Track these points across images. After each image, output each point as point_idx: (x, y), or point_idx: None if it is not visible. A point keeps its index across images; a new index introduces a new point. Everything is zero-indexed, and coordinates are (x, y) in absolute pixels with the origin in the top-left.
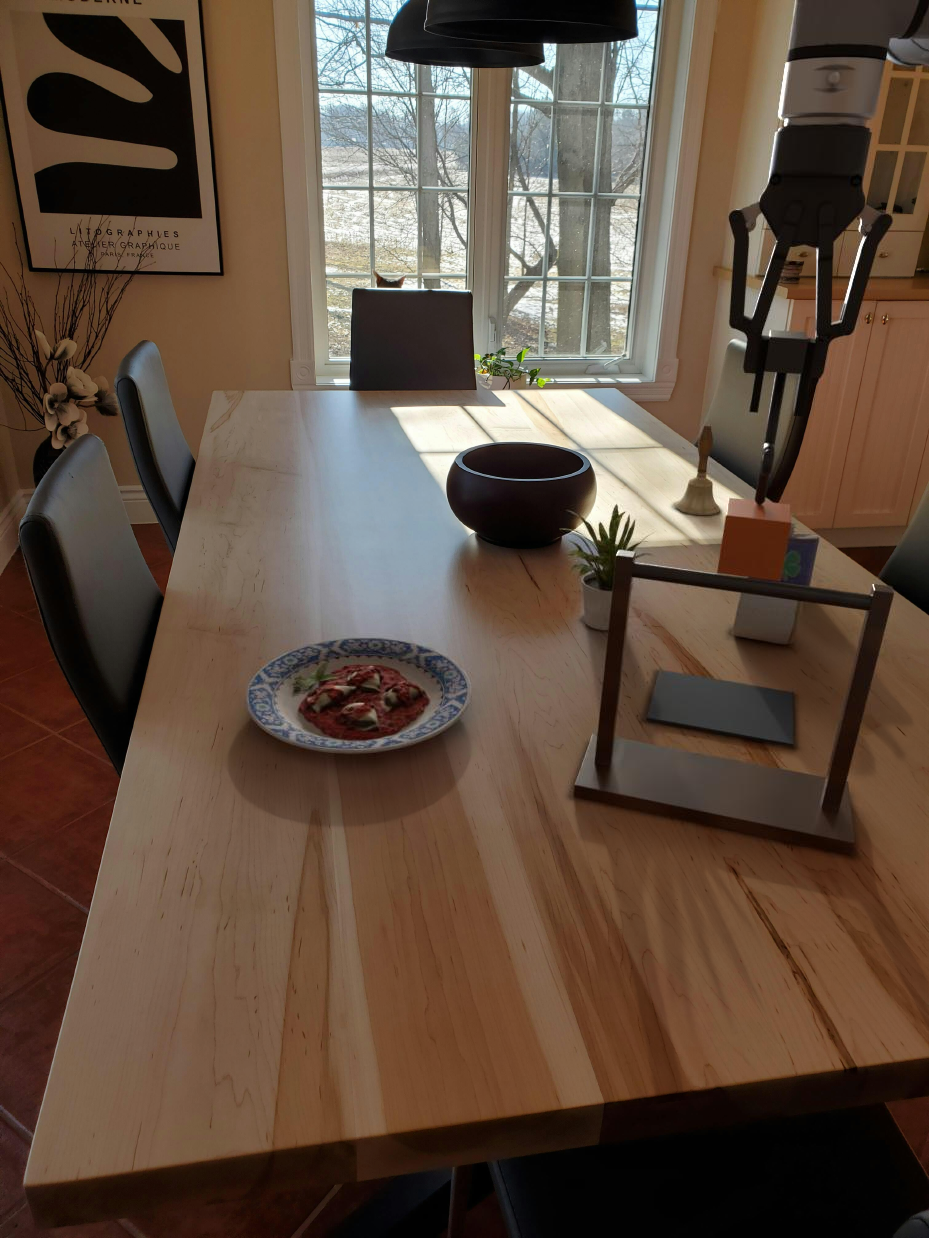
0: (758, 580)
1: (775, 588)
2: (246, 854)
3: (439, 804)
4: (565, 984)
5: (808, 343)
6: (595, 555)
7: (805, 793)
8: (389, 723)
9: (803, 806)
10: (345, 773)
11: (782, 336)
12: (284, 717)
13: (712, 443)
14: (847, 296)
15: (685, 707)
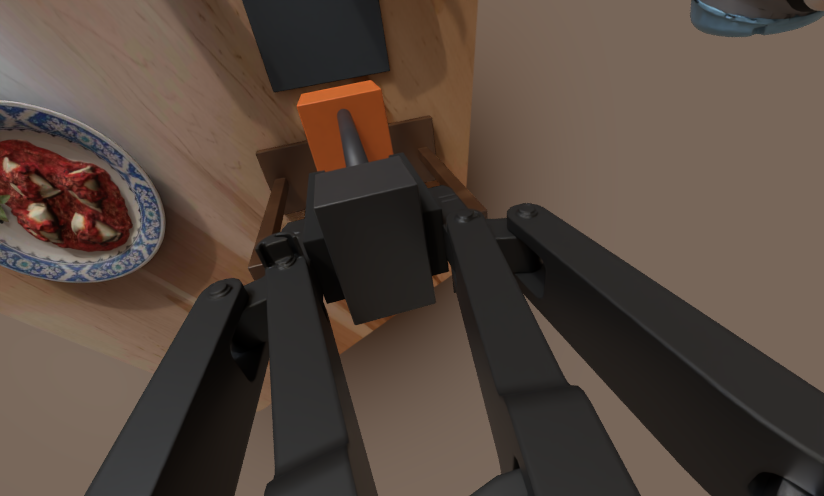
0: None
1: None
2: (173, 331)
3: (219, 257)
4: (343, 307)
5: (433, 273)
6: None
7: (408, 146)
8: (120, 224)
9: (409, 161)
10: (146, 265)
11: (377, 303)
12: (47, 255)
13: None
14: (557, 305)
15: (294, 54)
